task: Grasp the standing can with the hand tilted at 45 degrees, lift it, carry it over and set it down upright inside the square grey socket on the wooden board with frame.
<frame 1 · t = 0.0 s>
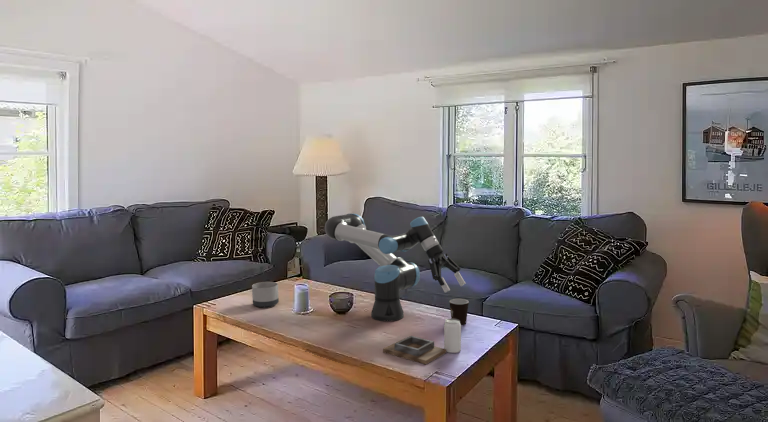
hand: (455, 288, 249), 15 cm above the table, tool tilted 35°, fingers open, 13 cm apart
can: (452, 351, 215), on the table
wooden board with frame: (414, 352, 214), on the table
coffee mug: (459, 322, 249), on the table
planter: (265, 305, 279), on the table
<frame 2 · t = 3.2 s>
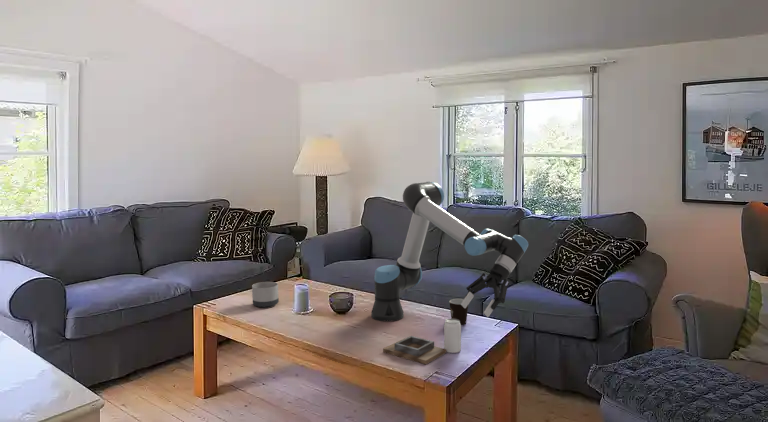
hand: (474, 310, 219), 14 cm above the table, tool tilted 45°, fingers open, 13 cm apart
nothing on the table moved.
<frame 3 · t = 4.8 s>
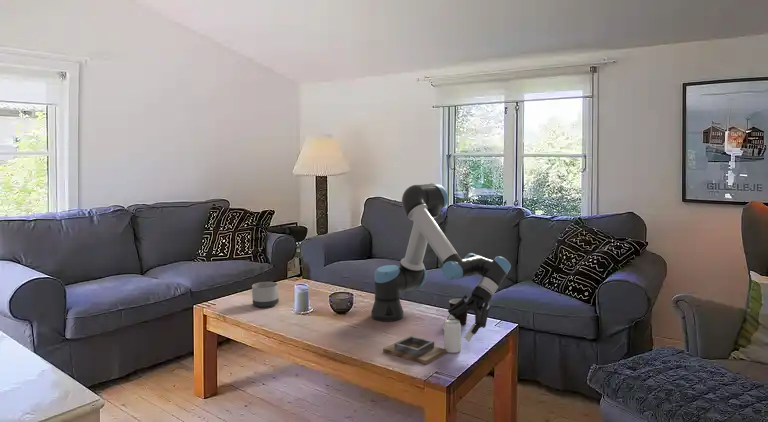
hand: (454, 334, 214), 7 cm above the table, tool tilted 45°, fingers open, 13 cm apart
nothing on the table moved.
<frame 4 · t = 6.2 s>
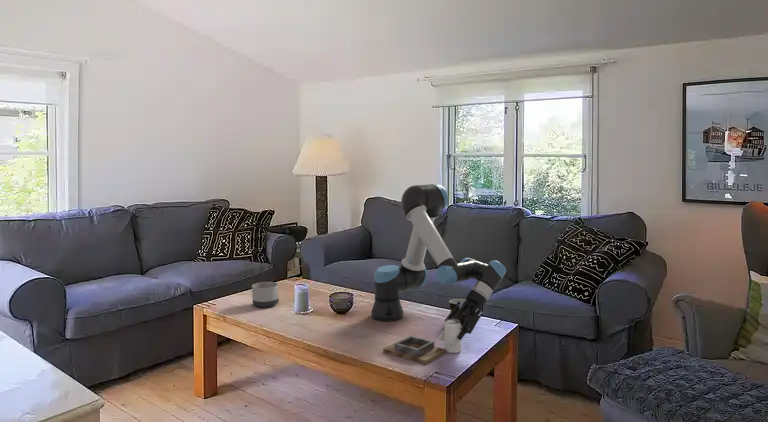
hand: (446, 342, 213), 4 cm above the table, tool tilted 45°, fingers closed on can, 6 cm apart
can: (452, 351, 215), on the table, touching gripper
everything else where it was.
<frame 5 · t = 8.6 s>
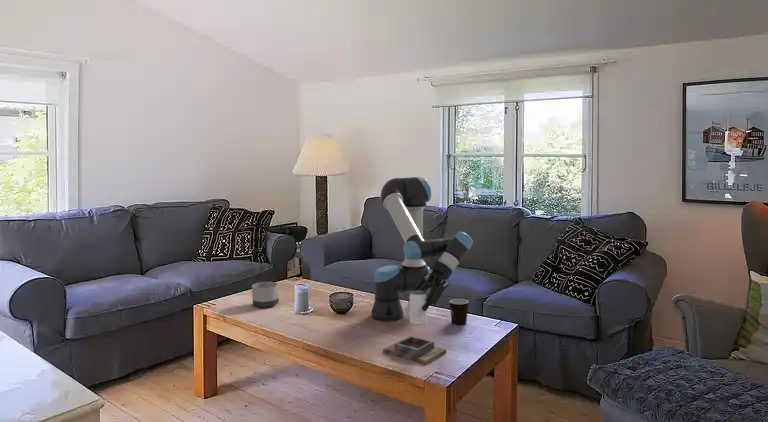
hand: (411, 314, 210), 16 cm above the table, tool tilted 45°, fingers closed on can, 6 cm apart
can: (418, 323, 212), point 12 cm above the table, touching gripper
everything else where it was.
when the fingers open (7 cm above the table, at t = 10.9 s): can drops 1 cm, resting on wooden board with frame.
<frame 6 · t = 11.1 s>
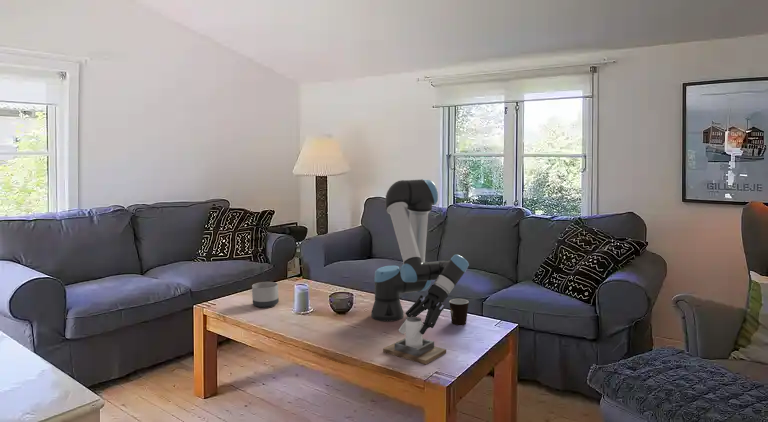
hand: (407, 336, 211), 7 cm above the table, tool tilted 45°, fingers open, 9 cm apart
can: (414, 349, 213), point 1 cm above the table, touching wooden board with frame
everything else where it was.
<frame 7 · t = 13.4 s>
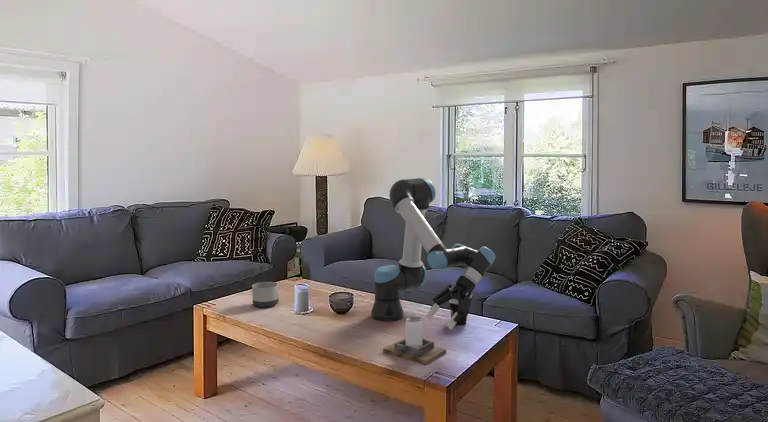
hand: (438, 322, 218), 10 cm above the table, tool tilted 45°, fingers open, 13 cm apart
nothing on the table moved.
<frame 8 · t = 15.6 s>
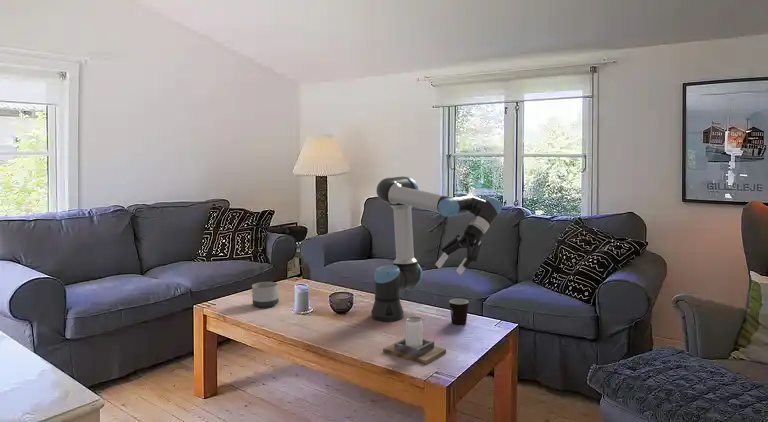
hand: (447, 269, 223), 30 cm above the table, tool tilted 45°, fingers open, 13 cm apart
nothing on the table moved.
at the end: can inside the target area on the wooden board with frame (0.4 cm from its centre), point 1.3 cm above the wooden board with frame's base; can tilted 0°; the gripper is holding nothing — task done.
